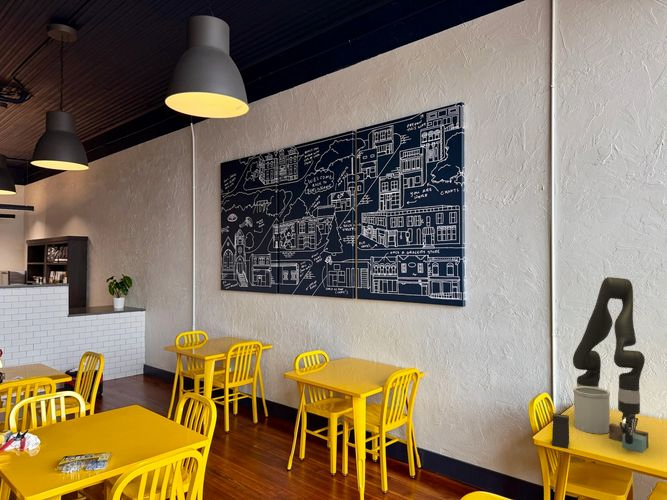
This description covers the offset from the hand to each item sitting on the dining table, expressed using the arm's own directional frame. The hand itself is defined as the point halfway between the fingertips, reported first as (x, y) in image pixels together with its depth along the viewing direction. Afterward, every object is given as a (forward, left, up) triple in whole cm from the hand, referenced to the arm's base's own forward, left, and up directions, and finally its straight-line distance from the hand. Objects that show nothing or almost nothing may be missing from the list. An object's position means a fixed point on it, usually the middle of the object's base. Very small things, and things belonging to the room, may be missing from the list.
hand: (628, 443), depth 191 cm
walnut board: (-3, +9, -3) cm, 10 cm away
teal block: (0, +5, -3) cm, 6 cm away
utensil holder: (-20, +15, -3) cm, 25 cm away
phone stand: (-20, -15, -3) cm, 25 cm away
